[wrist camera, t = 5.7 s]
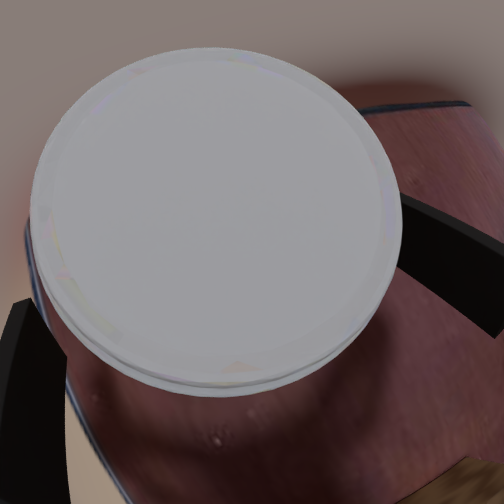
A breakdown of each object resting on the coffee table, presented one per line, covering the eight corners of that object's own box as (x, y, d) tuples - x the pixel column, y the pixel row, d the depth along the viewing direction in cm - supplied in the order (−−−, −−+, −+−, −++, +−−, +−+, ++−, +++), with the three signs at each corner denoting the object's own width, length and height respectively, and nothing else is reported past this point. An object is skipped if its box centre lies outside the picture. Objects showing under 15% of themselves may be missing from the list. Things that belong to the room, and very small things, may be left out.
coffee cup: (249, 192, 20) (312, 36, 9) (305, 331, 18) (462, 294, 6) (107, 232, 17) (26, 86, 6) (152, 387, 15) (75, 457, 4)
